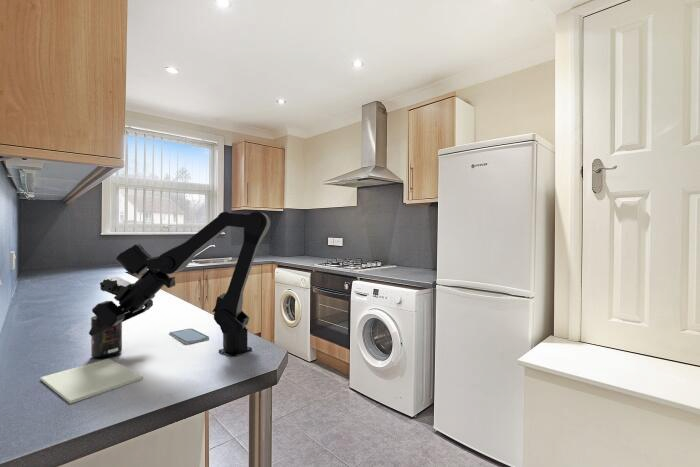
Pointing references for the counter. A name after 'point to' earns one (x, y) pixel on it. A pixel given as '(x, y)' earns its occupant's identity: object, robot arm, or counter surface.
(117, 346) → the supplement container
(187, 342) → the smartphone
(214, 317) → the robot arm
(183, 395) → the counter surface
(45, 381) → the mat
